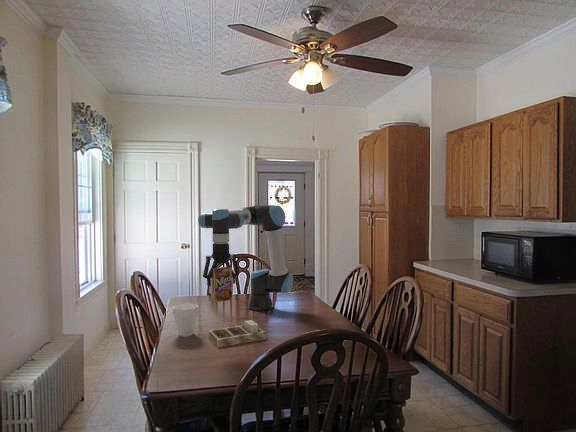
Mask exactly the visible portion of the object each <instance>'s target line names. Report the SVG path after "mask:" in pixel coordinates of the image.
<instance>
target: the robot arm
mask: <svg viewBox="0 0 576 432" xmlns="http://www.w3.org/2000/svg"><path fill="white" fill-rule="evenodd" d="M197 222H198V226H199V227H200V228H202V229H212V232H211V233H212V254H211V255H205V265H204V270H203V274H202V278H204V279H206V285H207V287H208V288H209V289H208V292H209V295H211V294H213V280H212V279H211V277H212V275H213V269H214V268H217V266H218V265H219V264H220V265H221V264H225V267H233V268H232V292H234V284H236V277H237V276H240V272H239V268H238V264H237V254H235V253H230V243H229V242H230V230H234V229H236V230H237V229H240V228H242V226H244V225H246V226H247V225H250V226H261V229H262V231H263V232H265V235H266V243H267V250H268V257H269V263H270V269H265V268H264V269H258V270H254V271H252V272H251V273H250V298H249V301H248V304H247V307H248V310H251V311H254V312H255V311H257V312H258V311H260V312H261V311H268V310H269V311H270V310H271V309H273V308H274V307H273V305H274V304H273V303H274V302H273V300H272V298H271V295H270V294H271V293H278V294H279V293H280V294H288V293H290V292H291V290H292V289H293V285H294V275H293V274H292V273H290V272H289V269H288V268H287V267H286V260H285V254H284V246H283V239H282V233H281V231H282V229H283V226H284V225H285V223H286V213H285V211H284V208H282V206H280V205H275V204H272V205H271V204H269V205H268V204H267V205H264V204H263V205H252V206H247V207H242V208H239V209H237V210H229V209H227V208H224V209H223V208H215V209H213V210H212V212H202V213H201V214H199V215H198V219H197ZM211 260H213V262H212V265H211ZM229 260H231V263H232V266H231V264H230V262H229ZM210 265H211V267H210ZM209 268H210V269H209Z"/></svg>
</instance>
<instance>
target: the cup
mask: <svg viewBox="0 0 576 432" xmlns="http://www.w3.org/2000/svg"><path fill="white" fill-rule="evenodd" d="M198 313H199V305H198V304H196V303H180V304H179V303H178V304H176V305H174V306H173V307H172V315H173V319H174V322H175V325H176V330H177V334H178V336H179V337H184V338H186V337H190V336H192V334H194V332H195V327H196V322H197V317H198Z"/></svg>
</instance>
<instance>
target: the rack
mask: <svg viewBox="0 0 576 432" xmlns="http://www.w3.org/2000/svg"><path fill="white" fill-rule="evenodd" d="M207 338H208V339H210V341H212V343H213V344H215V345H214V346H216V347H217V348H222V347H228V346H233V345H240V344H244V343H245V344H246V343H249V342H250V343H251V342H256V341H261V340H266V339H267V338H266V331H265V330H263V329H262V328H260V327H259V326H258V332H256V333H249V332H247V331H246V330H245V329H244V324H242V325H236V326H229V327H223V328H216V329H211V330H210V329H209V330H208V336H207Z"/></svg>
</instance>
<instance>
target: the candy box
mask: <svg viewBox="0 0 576 432" xmlns="http://www.w3.org/2000/svg"><path fill="white" fill-rule="evenodd" d="M232 267H233V266H231V267H227V266H221V267H216V268H214V269H213V275H212V277H211V279H212V280H213V294H210V301H211V302H212V303H221V302H226V301H232V299H233V297H232V296H233V291H232V270H233V268H232Z"/></svg>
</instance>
